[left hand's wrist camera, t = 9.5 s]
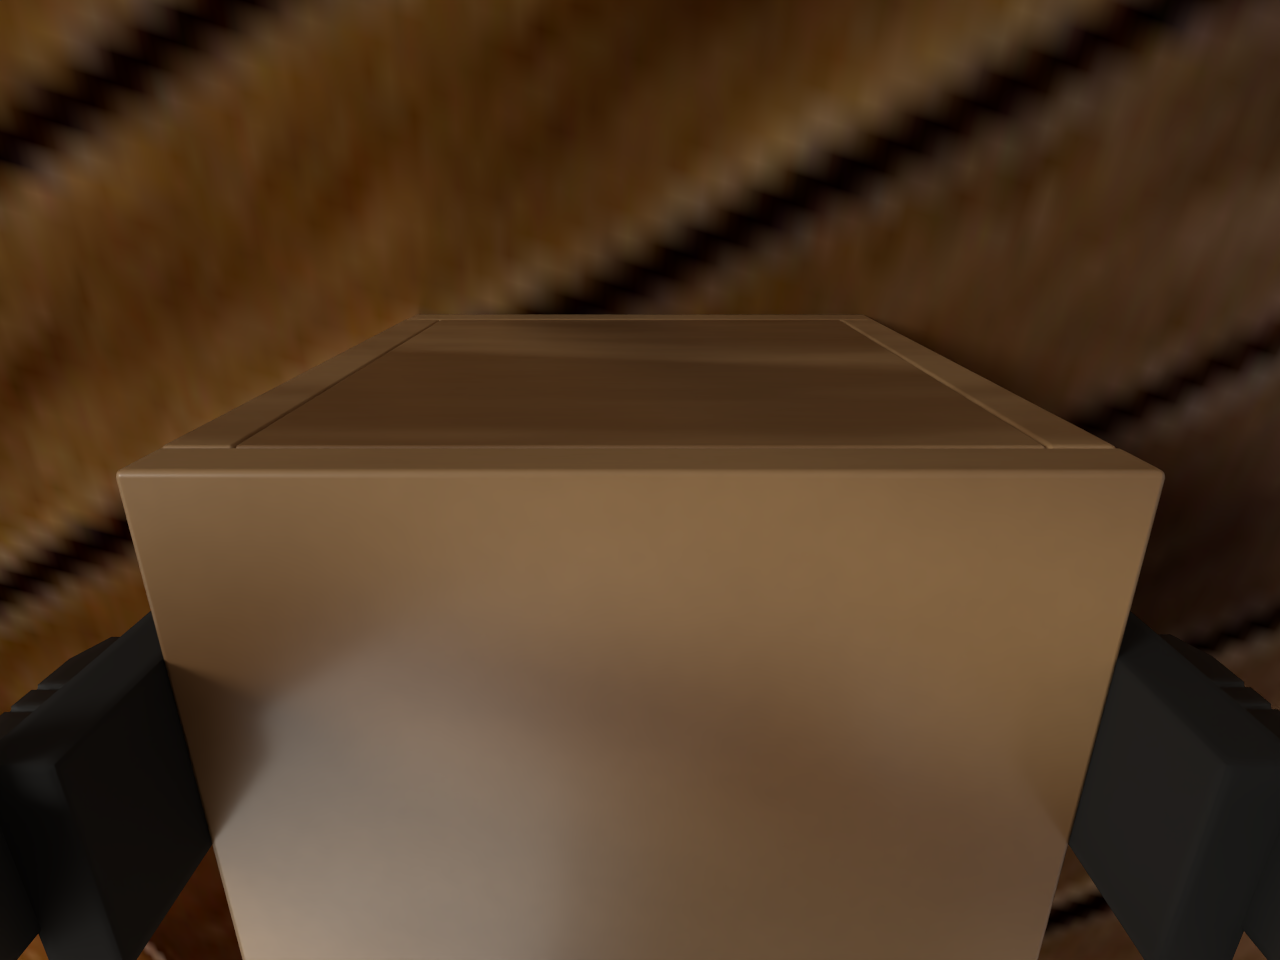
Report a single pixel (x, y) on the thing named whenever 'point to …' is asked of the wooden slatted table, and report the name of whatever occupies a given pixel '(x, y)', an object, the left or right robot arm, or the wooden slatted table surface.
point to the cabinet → (640, 642)
